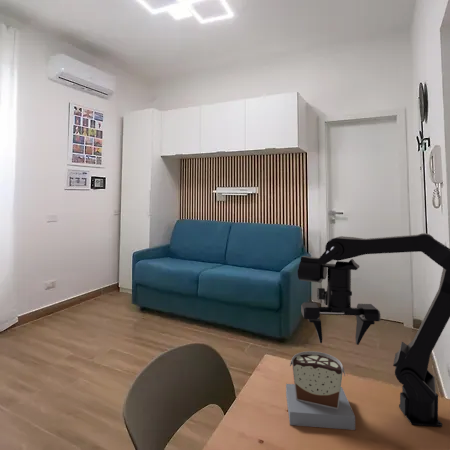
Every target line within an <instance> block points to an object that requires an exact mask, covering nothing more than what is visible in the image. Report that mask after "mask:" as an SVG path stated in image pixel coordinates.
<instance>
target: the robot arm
mask: <svg viewBox="0 0 450 450" xmlns="http://www.w3.org/2000/svg"><path fill="white" fill-rule="evenodd" d="M324 249H325V250H324V252H323V253H322V255H320V257H315V256H307V255H303V256H301V257H300V262H299V264H298V269H297V278H298V280H299V281H302V282H303V281H304V282H311V283H322V282H323V280H326V279H327V286H326V289H325V288H324V287H321V288H320V287H318V288H317V289H316V298H317V300H318V301H323V303H324V304H325V306H319V305H318V303H317V302H307V301H306V302H305V301H303V302H302V304H301V306H300V308H301V309H300V310H301V315H302V317H303V319H305V320H307V321H308V322H309V323H313V325H314V328H315V331H316V334H317V337H318V341H319V343H320V344H323V331H322V330H323V329H322V321H321V318H320V317H321V315H330V316H331V315H332V316H335V315H336V316H355V317H356V318H355V319H356V326H355V344H356V345H357V346H358V345H359V344H360V343H361V341H362V339H363V337H364V336H365V333H366V332H367V331H368V329H369V328H370V327H371V326H372V325H375V324H376V323H375V322H381V311H380V310H379V309H378V308H377V307H375V306H374V305H373V304H372V303H357V305H356V307H352V306H351V305H352V296H353V291H352V271H358V269H359V268H360V264H358V263H357V262H356V261H355V260H354V259H353V258H356V257H361V256H365V255H376V254H378V255H380V254H381V255H382V254H395V253H396V254H399V253H413V252H415V253H417V252H421V253H422V254H424V255H425V256H427V257H428V258H429V259H431V261H433V262H434V263H436V264H437V265H438V266H440V267H441V268H442V272H441V276H440V281H439V285H438V290H437V292H436V294H435V295H434V298H433V300H432V301H431V304H430V305H429V307H428V309H427V311H426V313H425V316H424V318H423V319H422V322H421V324H420V326H419V328H418V329H417V332H416V334H415V335H414V337H413V339H412V340H411V342H409V343H408V344H407V343H405V342H404V341H401V343H400V346H399V347H400V348H399V350H398V351H397V352H396V353H395V354H394V358H393V365H392V366H393V367H395V368H394V369H395V370H394V376H395V377H396V379H397V381H398V383H400V384H401V385H402V389H401V390H402V391H401V392H400V393H399V404H398V407H399V409H400V411H401V412H402V413H403V416H405V418H406V419H407V420H408V422H409V423H410V424H411V425H412V426H413V425H414V426H427V427H439V428H440V427H443V423H442V421H440V420H439V394H438V393H437V390H436V379H435V376H434V375H433V374H432V373H431V372H430V371H429V369H428V368H429V363H430V358H431V354H432V352H433V350H434V348H435V346H436V345H437V342H438V341H439V339H440V336H441V335H442V333H443V331H444V329H445V328H446V325H447V323H448V322H449V320H450V247H447V245H445V244H443V243H441V242H440V241H438V240H437V239H435V237H434V236H432V235H431V234H430V233H423V232H422V233H419V234H411V235H410V234H409V235H399V236H398V235H397V236H396V235H395V236H386V237H385V236H384V237H374V238H373V237H372V238H371V237H370V238H361V237H354V236H342V235H341V236H336V237H333V238H330V239H329V240H328V241H327V242H326V244H325V248H324ZM349 259H350V260H349ZM342 260H349V261H342ZM332 261H336V262H335V263H329V262H332Z"/></svg>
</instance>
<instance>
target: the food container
mask: <svg viewBox="0 0 450 450" xmlns="http://www.w3.org/2000/svg"><path fill="white" fill-rule="evenodd" d="M343 365H344V364H342V362H341V360H339V358H337V357H335V356H334V355H331V354H329V353H325V352H321V351H313V350H312V351H311V350H309V351H307V350H305V351H301V352H300V351H299V352H298V353H295V354H294V355H293V356H292V358H291V360H290V363H289V367H292V373H293V374H292V375H293V380H294V381H293V382H294V383H293V384H295V393H296V400H298V401H303V402H307V403H312V404H316V405H320V406H325V407H329V408H334V409H338V407H339V399H340V390H341V387H342V381H343V375H344V377H346V372H345V369H344V366H343Z"/></svg>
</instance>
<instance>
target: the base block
mask: <svg viewBox="0 0 450 450" xmlns="http://www.w3.org/2000/svg"><path fill="white" fill-rule="evenodd" d="M285 394H286V395H285V396H286V403H287V404H286V405H287V411H288V419H289V425H290V426H298V427H314V428H325V429H326V428H327V429H336V430H338V429H339V430H350V431H351V430H352V431H355V430H356V414H355V413H354V410H353V408H352V406H351V404H350V401H349V400H348V397H347V395H346V393H345V390H344V388H343V387H342V386H341V390H340V399H339V407H338V409H334V408H329V407H325V406H320V405H316V404H312V403H307V402H303V401H298V400H296V393H295V384H294V383H286V384H285Z"/></svg>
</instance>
